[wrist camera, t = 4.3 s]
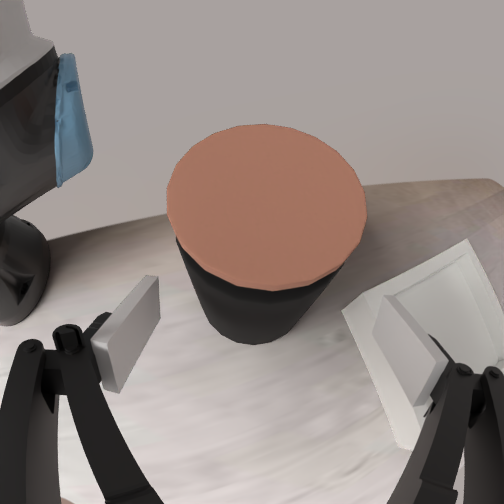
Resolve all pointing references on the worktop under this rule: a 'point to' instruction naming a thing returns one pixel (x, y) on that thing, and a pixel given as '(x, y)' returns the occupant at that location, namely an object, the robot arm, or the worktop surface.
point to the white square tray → (432, 327)
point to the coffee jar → (263, 225)
